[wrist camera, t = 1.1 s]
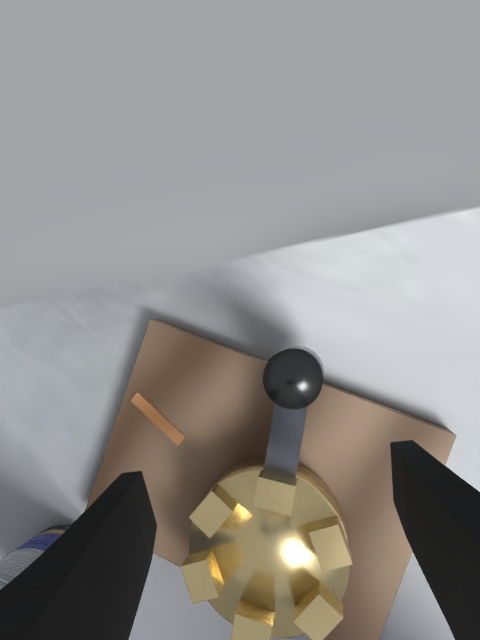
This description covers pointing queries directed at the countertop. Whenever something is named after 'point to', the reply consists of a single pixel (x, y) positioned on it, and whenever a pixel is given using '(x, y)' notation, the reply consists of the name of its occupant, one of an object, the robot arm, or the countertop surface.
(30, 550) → the pill bottle
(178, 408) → the wooden board
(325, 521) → the gold and black piece
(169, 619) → the countertop surface
